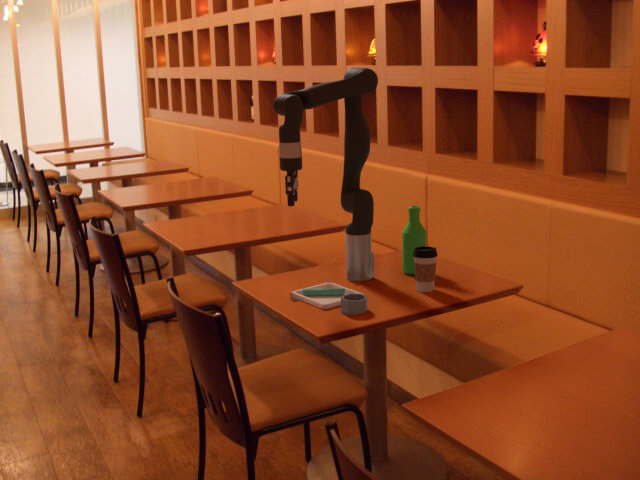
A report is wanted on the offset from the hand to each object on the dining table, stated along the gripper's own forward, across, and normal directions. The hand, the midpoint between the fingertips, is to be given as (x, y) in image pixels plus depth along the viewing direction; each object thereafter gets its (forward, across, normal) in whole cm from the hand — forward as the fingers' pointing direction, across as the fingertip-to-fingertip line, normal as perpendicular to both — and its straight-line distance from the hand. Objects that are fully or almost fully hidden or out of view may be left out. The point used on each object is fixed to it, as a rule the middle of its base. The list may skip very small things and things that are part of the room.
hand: (292, 203), depth 264 cm
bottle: (+32, +26, -41) cm, 58 cm away
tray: (+32, -6, -11) cm, 34 cm away
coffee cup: (+32, +5, -44) cm, 55 cm away
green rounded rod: (+30, -4, -17) cm, 34 cm away
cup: (+32, -20, -21) cm, 43 cm away
